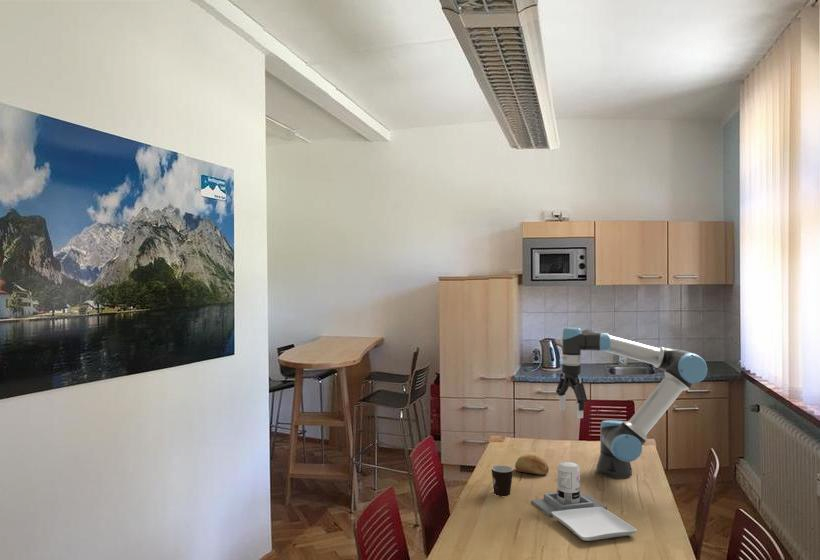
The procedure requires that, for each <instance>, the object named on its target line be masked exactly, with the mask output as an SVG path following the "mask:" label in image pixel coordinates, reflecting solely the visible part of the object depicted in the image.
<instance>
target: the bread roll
mask: <svg viewBox="0 0 820 560" xmlns="http://www.w3.org/2000/svg"><path fill="white" fill-rule="evenodd" d="M514 465H515V466H514V468H515V470H516V471H517V472H519V473H526V474H535V475H541V476H543V475H547V474H548V473H549V471H550V469H549V465H548V463H547V462H546V460H545V459H543V458H542V457H541V456H539V455H537V454H524V455H521V456H520V457H518V458H517V460H516V462H515V464H514Z"/></svg>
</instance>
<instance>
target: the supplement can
mask: <svg viewBox="0 0 820 560" xmlns="http://www.w3.org/2000/svg"><path fill="white" fill-rule="evenodd" d="M556 475H557V480H556V481H557V485H556V487H557V488H556V489H557V491H556V492H557V501H558V502H560V503H561V504H562V505H569V504H577V503H580V494H581V468H580V466H579V464H578V463H577V462H576V461H575V462H574V461H569V460H564V461H560V462H559V464H558V466H557V474H556Z"/></svg>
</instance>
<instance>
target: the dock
mask: <svg viewBox="0 0 820 560" xmlns="http://www.w3.org/2000/svg"><path fill="white" fill-rule="evenodd" d="M530 503H531V504H533V505H534V506H535V507H536V508H537V509H539V510H540V511H541V512H543V513H544V514H545V515H547V517H550V518H551V517H554V516H553V515H552V513H551V512H554V511H562V510H570V509H580V508H590V507H603V508H605V509H606V510H608V507H607V506H606V505H605V504H603V503H601V502H599V501H598V500H596V499H595V498H593V497H592V496H590V495H589V494H587V493H580V503H577V504H569V505H562V504H561V503H560V502H558V501H557V491H556V492H547V493H543V498H537V499H531V500H530Z"/></svg>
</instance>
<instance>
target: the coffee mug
mask: <svg viewBox="0 0 820 560" xmlns="http://www.w3.org/2000/svg"><path fill="white" fill-rule="evenodd" d="M490 469H491V477H492V487H493V494H494V495H495V494H496V495H495V496H497V495H499V496H498V497H502V496H504V497H509V496H510V495H511V489H512V483H513V482H512V481H513V473H514V468H513V467H511V466H508V465H502V464H499V465H497V464H496V465H493V466H492V467H490ZM508 495H509V496H508Z"/></svg>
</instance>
